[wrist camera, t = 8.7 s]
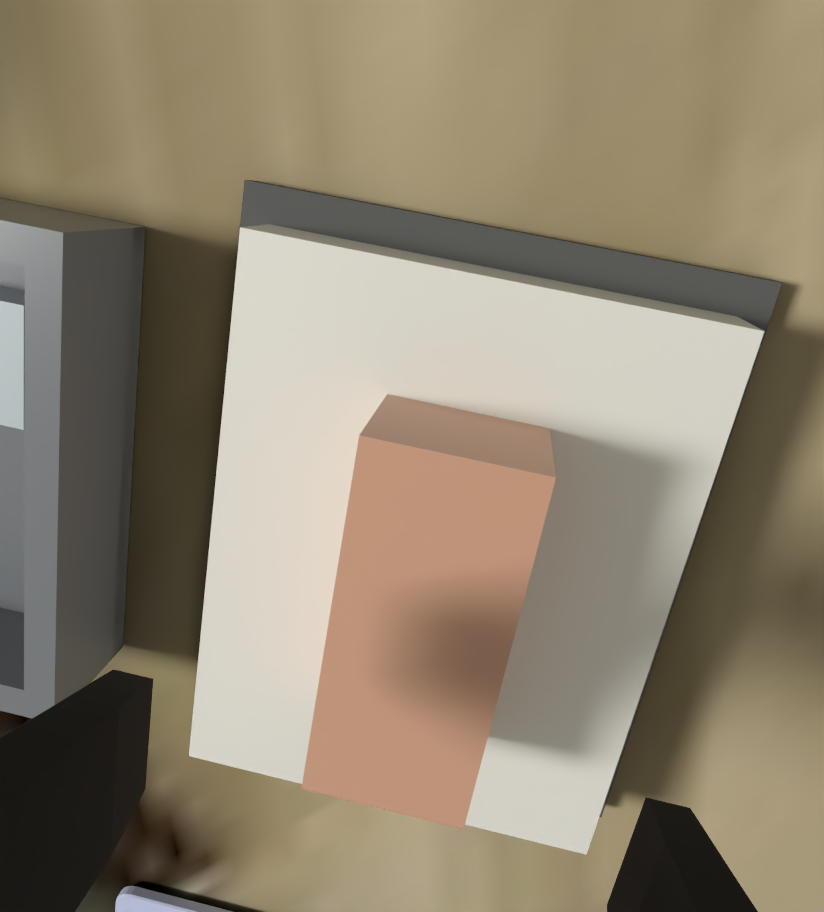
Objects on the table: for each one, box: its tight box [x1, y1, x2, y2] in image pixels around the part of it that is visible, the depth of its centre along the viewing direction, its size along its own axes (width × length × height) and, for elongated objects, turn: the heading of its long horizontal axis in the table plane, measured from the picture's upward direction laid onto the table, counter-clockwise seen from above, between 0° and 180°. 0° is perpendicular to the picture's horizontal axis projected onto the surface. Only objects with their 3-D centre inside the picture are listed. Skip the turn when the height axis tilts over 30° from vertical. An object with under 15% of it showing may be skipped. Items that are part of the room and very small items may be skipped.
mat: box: [240, 180, 782, 817], centre depth 19 cm, size 15×12×1 cm
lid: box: [189, 224, 764, 854], centre depth 17 cm, size 14×11×5 cm
